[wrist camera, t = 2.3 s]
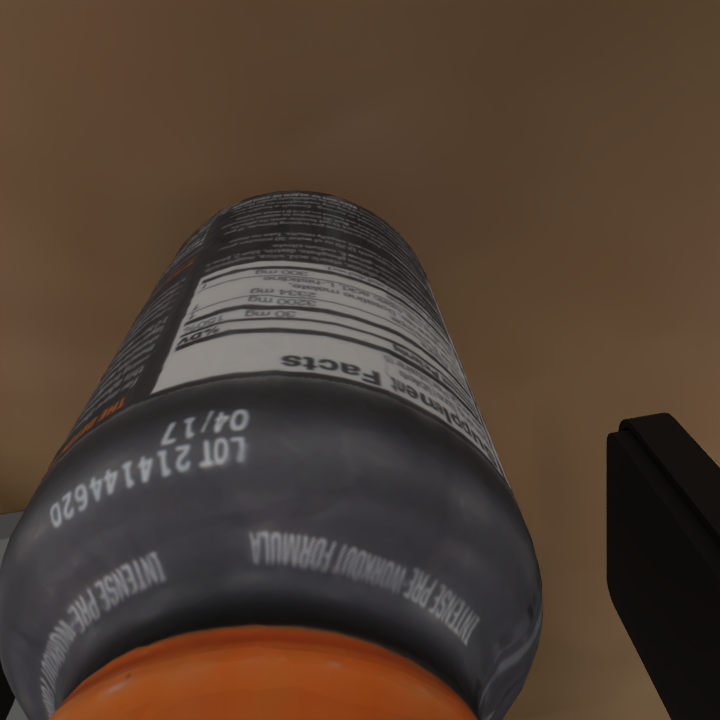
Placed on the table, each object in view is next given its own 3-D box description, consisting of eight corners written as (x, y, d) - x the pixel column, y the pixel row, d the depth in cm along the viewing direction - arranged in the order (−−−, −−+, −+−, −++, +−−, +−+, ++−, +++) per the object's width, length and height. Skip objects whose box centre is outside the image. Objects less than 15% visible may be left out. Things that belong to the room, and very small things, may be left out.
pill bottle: (277, 464, 16) (200, 1167, 6) (108, 289, 14) (-449, 991, 4) (479, 343, 15) (786, 1004, 5) (331, 123, 12) (352, 562, 2)
